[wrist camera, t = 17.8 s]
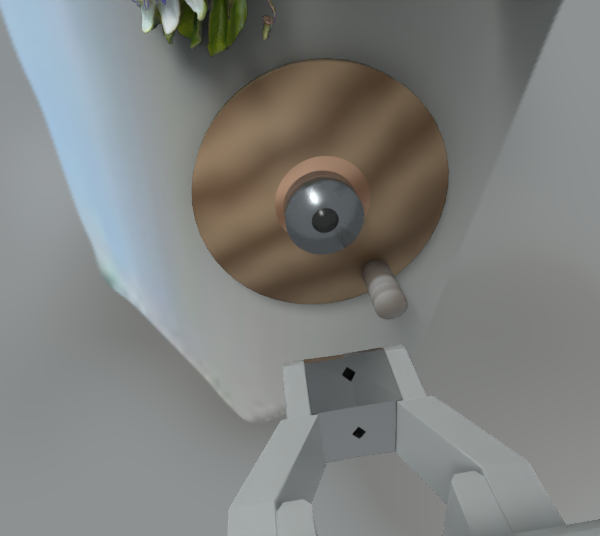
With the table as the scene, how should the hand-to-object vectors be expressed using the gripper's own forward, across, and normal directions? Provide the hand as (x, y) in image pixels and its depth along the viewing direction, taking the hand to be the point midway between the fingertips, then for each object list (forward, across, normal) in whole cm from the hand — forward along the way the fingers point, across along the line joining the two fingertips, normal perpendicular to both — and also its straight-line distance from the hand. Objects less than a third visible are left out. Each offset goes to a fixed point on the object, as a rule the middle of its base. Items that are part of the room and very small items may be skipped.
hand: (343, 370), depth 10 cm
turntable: (+31, -3, +9) cm, 32 cm away
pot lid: (+29, -3, +9) cm, 30 cm away
